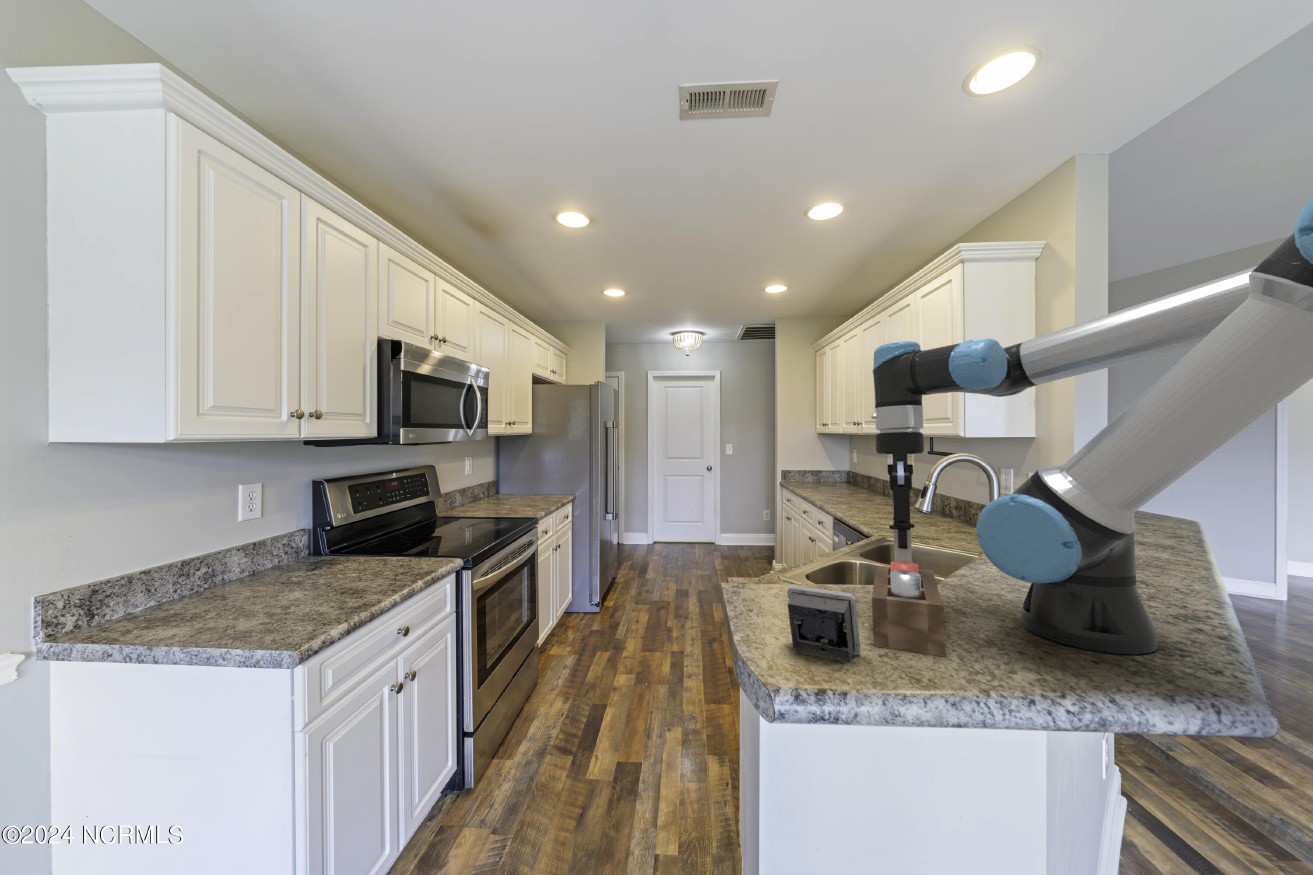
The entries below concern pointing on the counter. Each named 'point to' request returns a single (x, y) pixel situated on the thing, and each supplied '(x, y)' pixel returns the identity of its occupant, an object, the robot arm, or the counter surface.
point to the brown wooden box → (908, 616)
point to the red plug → (904, 566)
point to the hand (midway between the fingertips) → (903, 565)
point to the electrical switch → (823, 622)
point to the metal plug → (905, 584)
